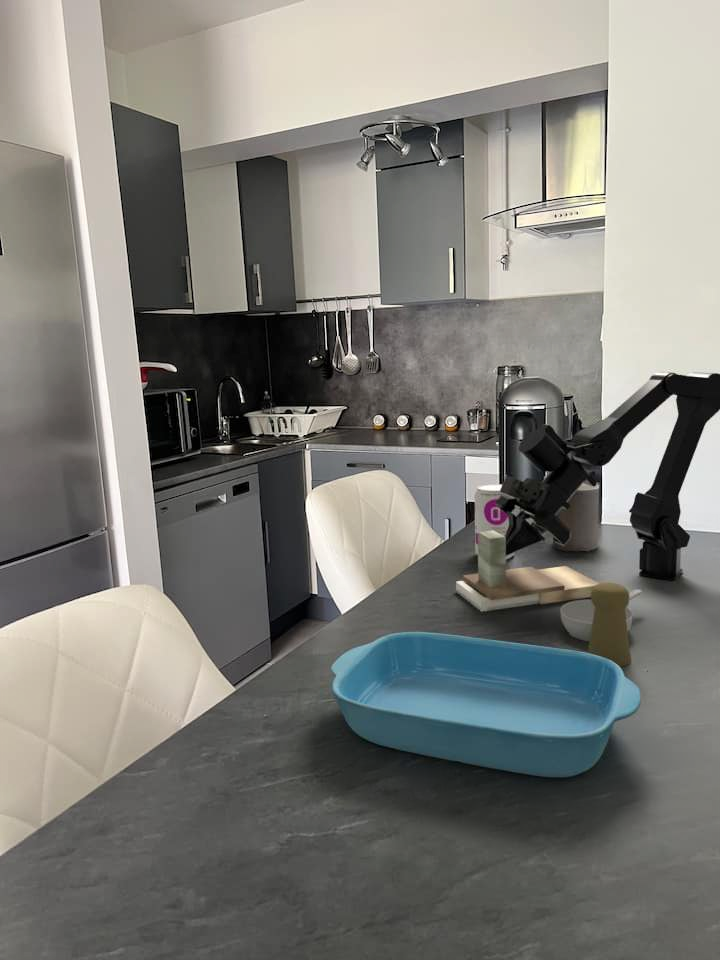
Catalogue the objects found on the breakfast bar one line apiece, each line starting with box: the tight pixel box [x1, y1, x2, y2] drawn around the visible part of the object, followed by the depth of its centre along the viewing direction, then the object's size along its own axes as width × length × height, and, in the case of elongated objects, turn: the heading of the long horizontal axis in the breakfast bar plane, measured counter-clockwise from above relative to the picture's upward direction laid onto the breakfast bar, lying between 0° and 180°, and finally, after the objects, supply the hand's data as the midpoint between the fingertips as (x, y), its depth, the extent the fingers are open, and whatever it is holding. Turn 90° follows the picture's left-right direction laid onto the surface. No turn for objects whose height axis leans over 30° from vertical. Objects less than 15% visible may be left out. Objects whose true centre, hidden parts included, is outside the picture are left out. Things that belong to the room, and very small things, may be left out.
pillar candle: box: [551, 483, 600, 552], centre depth 162 cm, size 10×10×15 cm
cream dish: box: [455, 580, 539, 613], centre depth 134 cm, size 11×11×2 cm
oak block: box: [537, 565, 600, 605], centre depth 137 cm, size 12×12×2 cm
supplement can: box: [474, 483, 515, 560], centre depth 158 cm, size 8×8×15 cm
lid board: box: [462, 530, 565, 600], centre depth 133 cm, size 14×12×10 cm
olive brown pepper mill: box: [587, 582, 632, 668], centre depth 106 cm, size 6×6×11 cm
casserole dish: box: [330, 631, 642, 778], centre depth 90 cm, size 37×22×7 cm, turn 65°
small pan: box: [560, 589, 643, 642], centre depth 119 cm, size 11×18×4 cm, turn 129°
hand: (500, 554), depth 133 cm, fingers closed, pressing on lid board
